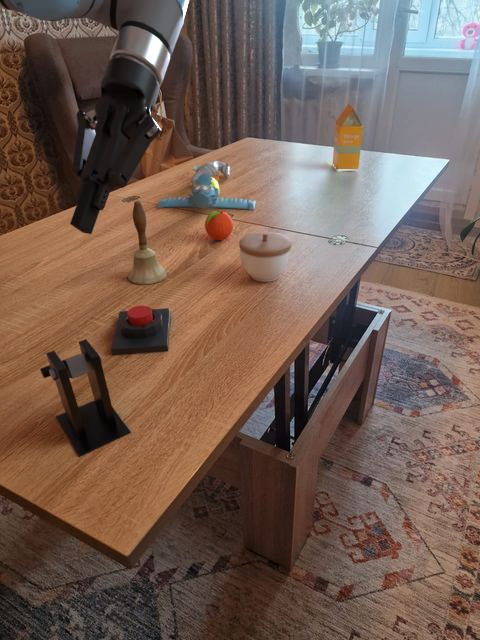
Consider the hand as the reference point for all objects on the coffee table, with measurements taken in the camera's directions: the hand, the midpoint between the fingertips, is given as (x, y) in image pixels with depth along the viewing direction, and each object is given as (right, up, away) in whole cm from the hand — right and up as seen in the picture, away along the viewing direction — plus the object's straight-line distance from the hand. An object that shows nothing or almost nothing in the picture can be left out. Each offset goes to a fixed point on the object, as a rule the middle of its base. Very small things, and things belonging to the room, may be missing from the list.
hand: (80, 229), depth 65 cm
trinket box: (+25, -1, +38) cm, 46 cm away
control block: (+4, -14, +19) cm, 24 cm away
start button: (+4, -11, +17) cm, 20 cm away
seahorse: (+7, +40, +95) cm, 103 cm away
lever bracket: (+2, -27, 0) cm, 27 cm away
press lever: (0, -19, -2) cm, 20 cm away
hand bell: (0, -1, +38) cm, 38 cm away
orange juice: (+54, +48, +107) cm, 129 cm away
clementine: (+14, +11, +54) cm, 57 cm away
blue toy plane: (+8, +25, +74) cm, 79 cm away
